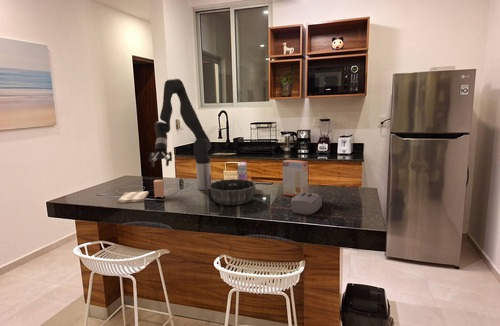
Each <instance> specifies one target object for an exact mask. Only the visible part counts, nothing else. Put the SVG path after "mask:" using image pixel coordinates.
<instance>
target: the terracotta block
mask: <svg viewBox="0 0 500 326" xmlns="http://www.w3.org/2000/svg"><path fill="white" fill-rule="evenodd" d="M164 184H165V183H164V178H163V179H155V180H154V181H153V191H154V192H153V193H154V199H157V198H156V197H161V198H164V197H165V186H164Z"/></svg>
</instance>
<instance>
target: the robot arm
mask: <svg viewBox="0 0 500 326" xmlns="http://www.w3.org/2000/svg"><path fill="white" fill-rule="evenodd" d="M174 94H176V95H177V97H178V100H179V104H180V105H179V115H180V116H181V118H182V122H184V124H185V126H186V127H188V129H189V130H190V131H191V132H192V133H193V135H194V137H195V139H196V140H195V141H194V143H193V153H194V154H193V156H194V159H195V164H196V165H195V168H196V187H197V190H201V191H202V190H203V191H206V190H210V187H209V185H210V184H211V183H212V174H211V173H212V172H211V171H212V170H211V158H210V157H209V156H208V153H209V152H208V151H210V149H211V148H212V142H211V140H210V139H209V136H208V135H207V134H206V132H205V130H204V129H203V127H202V124H201V122H200V120H199V117H198V115H197V113H196V110H195V108H194V107H193V104H192V103H191V100H190V98H189V96H188V93H187V90H186V88H185V85H184V83H183V81H182V80H181V79H180V78H169V79H166V81H164V87H163V96H162V97H163V98H162V99H163V100H162V106H161V111H160V115H159V119H160V120H161V121H159V120H158V121H156V122H155V123H154V131H155V134H156V140H155V146H154V152H151V151H150V152H149V153H148V154H149V155H148V161H149V162H150V164H151V166H152V167H153V168H154V167H155V162H156V161H158V160H165V166H166V167H168V166H169V165H170V164H169V163H170V162H172V161H173V157H172V155H173V154H172V151H169V152H168V133H169V132H170V131H171V117H172V114H173V105H172V97H173V95H174ZM168 156H169V157H168Z"/></svg>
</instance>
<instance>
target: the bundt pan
mask: <svg viewBox="0 0 500 326" xmlns="http://www.w3.org/2000/svg"><path fill="white" fill-rule="evenodd" d="M256 185H257V183H256V182H255V181H254V180H250V179H247V180H244V179H238V178H236V179H235V178H232V179H221V180H216V181H213V182H211V184H210V185H209V187H210V189H209V190H210V195H211V198H212V200H213V201H214V202H215V203H218V204H219V205H220V206H221V205H222V206H223V205H225V206H235V205H237V206H238V205H239V206H241V205H243V204H244V205H245V204H247V203H249V202H250V201H252V199H253V197H254V196H255V192H256V191H255V190H256Z"/></svg>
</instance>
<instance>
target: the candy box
mask: <svg viewBox="0 0 500 326" xmlns="http://www.w3.org/2000/svg"><path fill="white" fill-rule="evenodd" d="M247 163H248V162H247V161H239V162H237V165H236V167H237V172H236V173H237V179H244V180H248V166H247Z"/></svg>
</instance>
